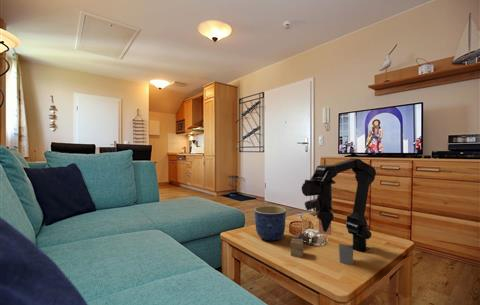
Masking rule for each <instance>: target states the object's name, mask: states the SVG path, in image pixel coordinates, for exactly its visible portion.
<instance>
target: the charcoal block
mask: <svg viewBox="0 0 480 305" xmlns="http://www.w3.org/2000/svg"><path fill="white" fill-rule="evenodd" d="M352 245H353V244H351V245H350V244H342V243H339V244H338V260H339V263H340V264H346V265H354V249H353V248H352Z"/></svg>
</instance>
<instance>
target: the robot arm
mask: <svg viewBox="0 0 480 305" xmlns="http://www.w3.org/2000/svg"><path fill="white" fill-rule="evenodd" d="M350 170H351V171H352V172H353V173H354V174H355V175H354V177H355V180H356V182H357V185H356V192H355V197H354V204H353V209H352V213H351V214H350V215H347V216H346V220H345V221H346V222H345V226H346V230H347V233H348V234H350V235H352V244H351V245H352V248H353V250H355V251H357V252H358V251H359V252H361V253H365V252H366V251H368V250H369V249H370V247H369V246H367V240H369V239H371V238H372V234H373V233H372V232H371V231H370V229H369V228H368V222H367V219H366V216H365V213H366V208H367V201H368V195H369V190H370V186H371V185H372V184H373V182H374V181H375V179H376V174H377V170H376V169H375V167H374V166H372V165H370V164H368V163H366V162H365V161H363V160H362V159H360V158H349V159H348V160H347V159H346V160H343V161H340V162H337V163H333V164H323V165H321V164H320V165H318V166H316V168H315V171H314V172H313V174H312V176H311V177H310V179H304V183H302V186H301V192H302V194H303V195H304V196H305V197H312V196H313V197H314V196H316V198H313V199H310V200H307V201H305V202H304V206H305V207H304V208H305V209H306V211H310V210H313V209H316V210H317V211H316V218H317V219H318V220H319V219H320V220H321V222H322V226H323V231H324V232H327V229H328V227H329V225H330V223H331V224H332V220H334V212H333V211H332V210H333V204H332V203H333V201H332V200H333V194H332V190H333V189H332V188H333V187H332V185H333V184H336V181H335V180H334V179H333V178H335V177H337V175H338V174H340V173H342V172H346V171H350Z"/></svg>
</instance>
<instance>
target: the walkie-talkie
mask: <svg viewBox="0 0 480 305" xmlns="http://www.w3.org/2000/svg"><path fill="white" fill-rule="evenodd" d="M294 239H302V240H303V243H306V244H310V243H309V239H311V238H310V237H308V233H306V232H304V233H303V234H302V231H301V232H300V233H296V234H295V236H294ZM304 241H306V242H304Z"/></svg>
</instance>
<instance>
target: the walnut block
mask: <svg viewBox="0 0 480 305" xmlns="http://www.w3.org/2000/svg"><path fill="white" fill-rule="evenodd" d="M290 256H291V257H298V258H303V257H304V242H303V240H302V239H295V238H291V240H290Z"/></svg>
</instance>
